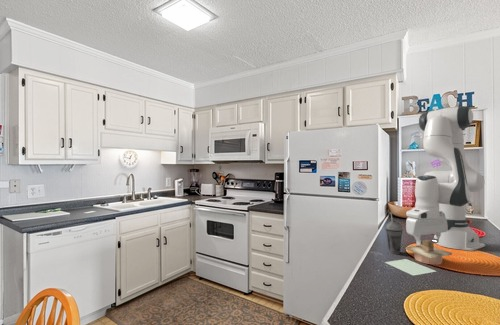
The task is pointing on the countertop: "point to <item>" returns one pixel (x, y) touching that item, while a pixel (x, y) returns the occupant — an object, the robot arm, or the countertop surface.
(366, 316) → the countertop surface
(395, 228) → the beverage cup
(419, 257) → the bowl
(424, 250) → the cover
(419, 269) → the mat
